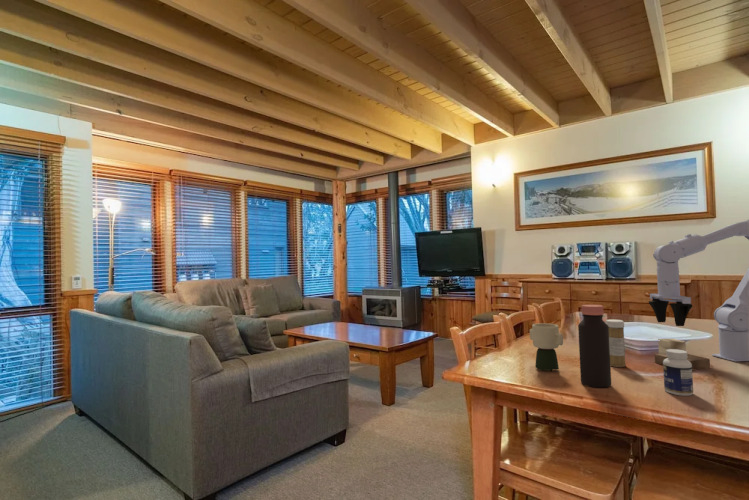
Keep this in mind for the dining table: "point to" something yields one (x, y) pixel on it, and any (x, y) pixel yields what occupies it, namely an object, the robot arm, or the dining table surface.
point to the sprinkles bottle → (616, 342)
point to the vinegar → (594, 348)
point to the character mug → (546, 345)
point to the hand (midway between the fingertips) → (670, 324)
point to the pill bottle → (677, 373)
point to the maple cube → (671, 345)
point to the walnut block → (694, 360)
